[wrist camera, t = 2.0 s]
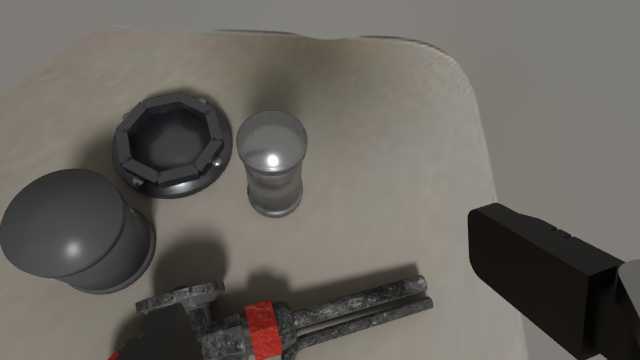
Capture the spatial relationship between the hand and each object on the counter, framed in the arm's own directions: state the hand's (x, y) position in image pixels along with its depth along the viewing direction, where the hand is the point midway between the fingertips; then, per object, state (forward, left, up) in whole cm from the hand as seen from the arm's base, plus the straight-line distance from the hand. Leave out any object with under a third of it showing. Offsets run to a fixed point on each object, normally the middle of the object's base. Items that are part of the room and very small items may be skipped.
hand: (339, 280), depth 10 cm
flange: (-7, +20, -23) cm, 32 cm away
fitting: (+1, +13, -23) cm, 27 cm away
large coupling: (-14, +12, -23) cm, 30 cm away
